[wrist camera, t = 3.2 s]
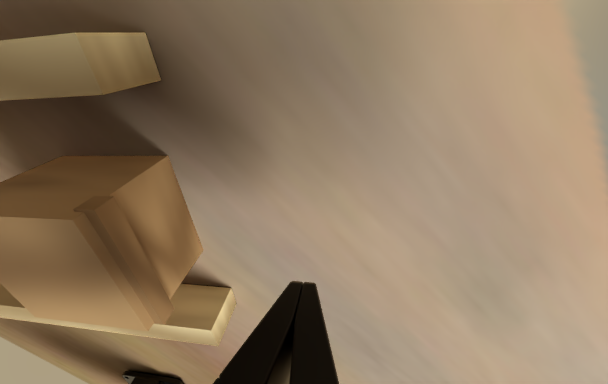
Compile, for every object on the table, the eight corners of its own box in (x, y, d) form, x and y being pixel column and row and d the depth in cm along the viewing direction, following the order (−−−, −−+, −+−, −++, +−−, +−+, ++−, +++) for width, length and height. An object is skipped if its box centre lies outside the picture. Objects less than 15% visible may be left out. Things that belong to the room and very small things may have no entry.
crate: (211, 250, 15) (158, 333, 11) (111, 244, 16) (28, 317, 12) (177, 152, 12) (83, 217, 8) (55, 153, 13) (-84, 210, 9)
